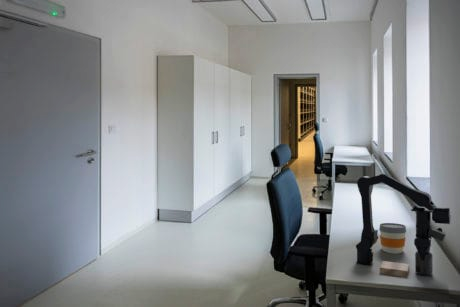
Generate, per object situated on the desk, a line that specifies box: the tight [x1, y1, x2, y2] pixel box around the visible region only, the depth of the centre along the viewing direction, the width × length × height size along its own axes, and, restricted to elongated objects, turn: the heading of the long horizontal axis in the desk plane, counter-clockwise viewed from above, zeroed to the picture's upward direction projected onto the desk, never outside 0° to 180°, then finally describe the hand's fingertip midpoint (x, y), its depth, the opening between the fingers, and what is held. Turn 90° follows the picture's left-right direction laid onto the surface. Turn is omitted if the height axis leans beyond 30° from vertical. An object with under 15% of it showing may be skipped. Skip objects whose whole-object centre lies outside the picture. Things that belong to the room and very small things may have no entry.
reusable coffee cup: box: [378, 222, 407, 255], centre depth 206 cm, size 13×13×15 cm
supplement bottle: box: [414, 247, 434, 277], centre depth 176 cm, size 7×7×12 cm
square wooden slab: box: [379, 260, 410, 278], centre depth 179 cm, size 11×11×3 cm
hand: (423, 258), depth 176 cm, fingers closed on supplement bottle, 7 cm apart
